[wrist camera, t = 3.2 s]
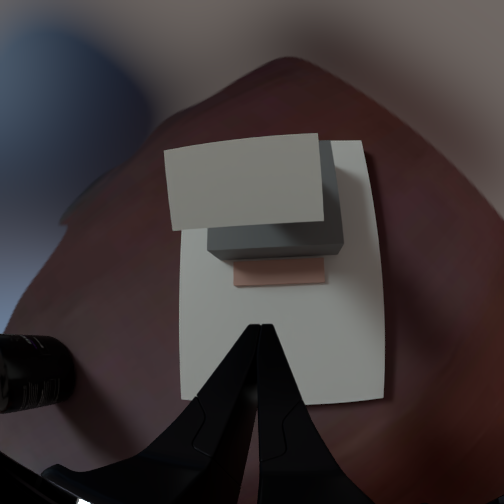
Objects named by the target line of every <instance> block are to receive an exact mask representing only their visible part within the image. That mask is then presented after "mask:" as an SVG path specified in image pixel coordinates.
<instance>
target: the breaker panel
mask: <svg viewBox="0 0 504 504" xmlns="http://www.w3.org/2000/svg"><path fill="white" fill-rule="evenodd" d="M318 142H319V153H320V165H321V178H322V193H323V212H324V221H312V222H293V223H275V224H259V225H243V226H228V227H214V228H201V229H188V230H182V237H181V259H180V296H179V343H180V380H181V399H184V400H193V398H194V397H195V396H197V393H198V392H199V391H200V389H201V388H202V387H203V385H204V384H205V383H206V381H207V380H208V379H209V377H210V376H211V375H212V373H213V372H214V371H215V369H216V368H217V367H218V365H219V364H220V363H221V361H222V360H223V359H224V357H225V356H226V355H227V353H228V352H229V351H230V349H231V348H232V346H233V345H234V344H235V342H236V341H237V340H238V338H239V337H240V335H241V334H242V333H243V331H244V330H245V329H246V327H247V326H248V325H249V324H260V325H262V324H273V325H274V327H275V330H276V332H277V335H278V338H279V340H280V343H281V345H282V348H283V350H284V353H285V355H286V358H287V361H288V363H289V366H290V368H291V371H292V373H293V376H294V378H295V381H296V383H297V386H298V389H299V391H300V394H301V396H302V400H303V401H304V403H305V405H311V404H330V403H343V402H354V401H363V400H371V399H379V398H383V395H384V372H385V321H384V298H383V282H382V269H381V259H380V249H379V240H378V232H377V225H376V217H375V211H374V204H373V198H372V192H371V186H370V181H369V176H368V171H367V166H366V161H365V156H364V151H363V147H362V143H361V141H330V140H326V141H318Z"/></svg>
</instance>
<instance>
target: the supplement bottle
mask: <svg viewBox="0 0 504 504" xmlns="http://www.w3.org/2000/svg"><path fill="white" fill-rule="evenodd" d="M74 383H75V375H74V368H73V364H72V361H71V358H70V356H69V354H68V352H67V350H66V348H65V347H64V346H63V345H62V343H61V342H59V341H58V340H57V339H55V338H53V337H51V336H39V335H14V334H0V414H5V413H12V412H17V411H23V410H28V409H33V408H38V407H43V406H48V405H52V404H56V403H60V402H64V401H66V400H67V399H68V398H69V397H70V396H71V394H72V392H73V389H74Z"/></svg>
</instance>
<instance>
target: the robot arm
mask: <svg viewBox="0 0 504 504" xmlns="http://www.w3.org/2000/svg"><path fill="white" fill-rule="evenodd" d="M257 406H258V433H259V462H260V464H259V467H260V474H259V489H258V500H257V504H375V503H374V502H373V501H372V500H371V499H370V498H369V497H368V496H367V495H366V494H365V493H364V492H362V491H361V490H360V489H359V488H358V487H357V486H356V485H355V484H354V483H353V482H352V481H351V480H350V479H349V478H348V477H347V476H346V475H345V473H344V472H343V471H342V470H341V468H340V467H339V465H338V464H337V462H336V461H335V459H334V458H333V456H332V454H331V453H330V451H329V449H328V448H327V446H326V445H325V443H324V441H323V440H322V438H321V436H320V435H319V433H318V431H317V429H316V427H315V426H314V424H313V422H312V420H311V418H310V415H309V413H308V411H307V409H306V406H305V403H304V401H303V400H302V396H301V394H300V391H299V389H298V386H297V383H296V381H295V378H294V376H293V373H292V371H291V368H290V366H289V363H288V361H287V358H286V355H285V353H284V350H283V348H282V345H281V343H280V340H279V338H278V335H277V332H276V330H275V327H274V325H273V324H262V325H260V324H249V325H248V326H247V327H246V329H245V330H244V331H243V333H242V334H241V335H240V337H239V338H238V340H237V341H236V342H235V344H234V345H233V346H232V348H231V349H230V351H229V352H228V353H227V355H226V356H225V357H224V359H223V360H222V361H221V363H220V364H219V365H218V367H217V368H216V369H215V371H214V372H213V373H212V375H211V376H210V377H209V379H208V380H207V381H206V383H205V384H204V385H203V387H202V388H201V389H200V391H199V392H198V393H197V396H195V397H194V398H193V400H192V401H191V402H190V404H189V405H188V406H187V407H186V408H185V410H184V411H183V412H182V413H181V414H180V415H179V416H178V418H177V419H176V420H175V421H174V422H173V423H172V424H171V425H170V426H169V427H168V428H167V429H166V430H165V431H164V432H163V433H162V434H160V435H159V436H158V437H157V438H156V439H155V440H154V441H153V442H152V443H151V444H150V445H149V446H148V447H147V448H146V449H144V450H143V451H142V452H140V453H139V454H137V455H135V456H133V457H131V458H128V459H125V460H122V461H119V462H116V463H113V464H110V465H107V466H104V467H101V468H98V469H94V470H91V471H86V472H75V471H72V470H70V469H68V468H66V467H64V466H62V465H60V464H55V465H53V466H51V467H49V468H47V469H45V470H44V471H43V472H42V473H41V476H42V477H41V476H39V475H38V474H36V473H34V472H33V471H31V470H29V469H28V468H26V467H24V466H23V465H21V464H19V463H18V462H16V461H15V460H13V459H11V458H10V457H8V456H7V455H5V454H4V453H2V452H1V451H0V504H237V501H238V497H239V493H240V488H241V487H240V486H241V484H242V479H243V475H244V470H245V465H246V461H247V456H248V451H249V446H250V441H251V437H252V432H253V427H254V422H255V416H256V411H257ZM421 504H428V503H421ZM486 504H504V495H502V496H500V497H498V498H496V499H494V500H492V501H490V502H488V503H486Z"/></svg>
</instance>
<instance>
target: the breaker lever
mask: <svg viewBox="0 0 504 504" xmlns="http://www.w3.org/2000/svg"><path fill="white" fill-rule="evenodd" d="M164 158H165V169H166V179H167V188H168V197H169V205H170V214H171V221H172V229H173V231H176V230H188V229H201V228H214V227H228V226H243V225H259V224H275V223H293V222H312V221H324V212H323V193H322V178H321V165H320V153H319V142H318V133H311V134H292V135H278V136H266V137H255V138H245V139H237V140H228V141H221V142H213V143H206V144H200V145H193V146H187V147H181V148H176V149H170V150H165V151H164Z"/></svg>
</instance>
